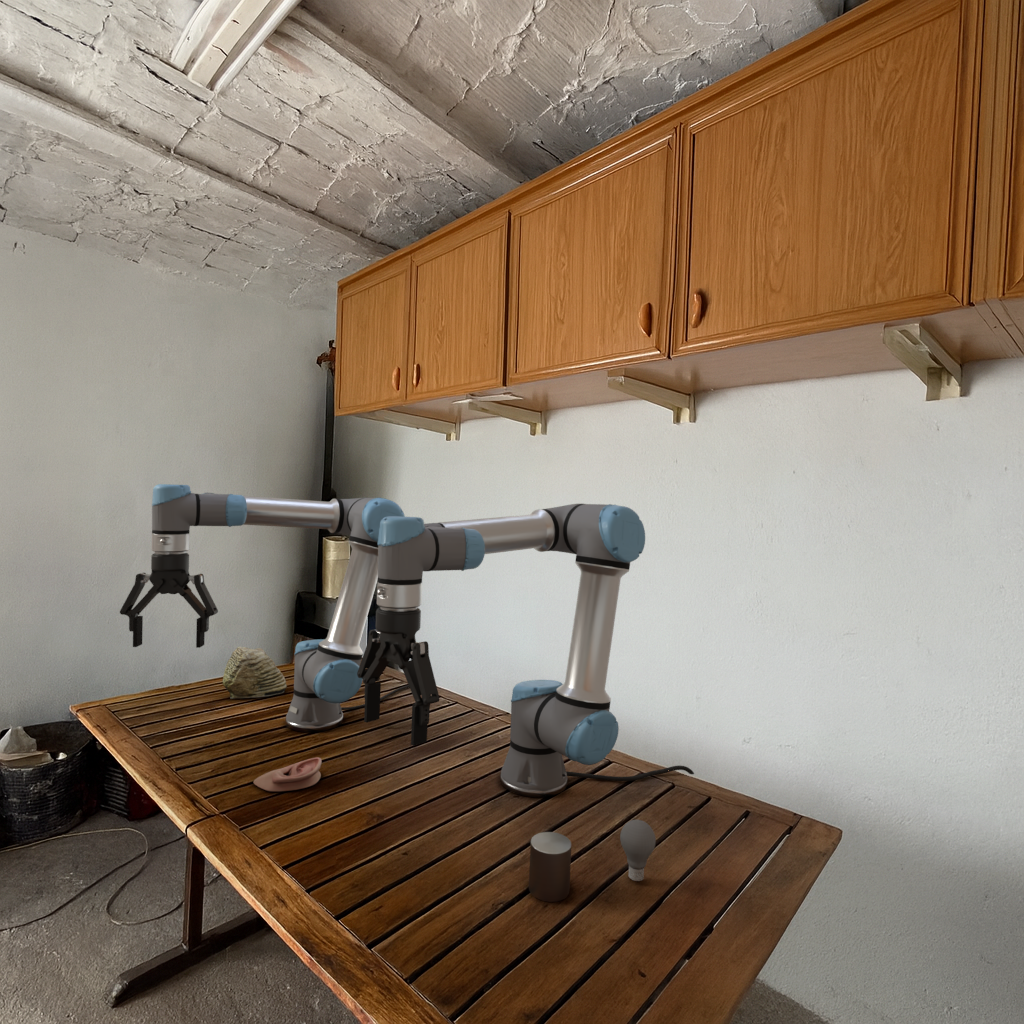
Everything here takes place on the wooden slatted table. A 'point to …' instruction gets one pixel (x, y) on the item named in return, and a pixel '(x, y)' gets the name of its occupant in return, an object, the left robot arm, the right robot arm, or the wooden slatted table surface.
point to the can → (550, 866)
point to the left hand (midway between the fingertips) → (169, 646)
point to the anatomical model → (291, 776)
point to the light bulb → (637, 846)
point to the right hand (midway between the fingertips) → (394, 731)
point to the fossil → (252, 674)
